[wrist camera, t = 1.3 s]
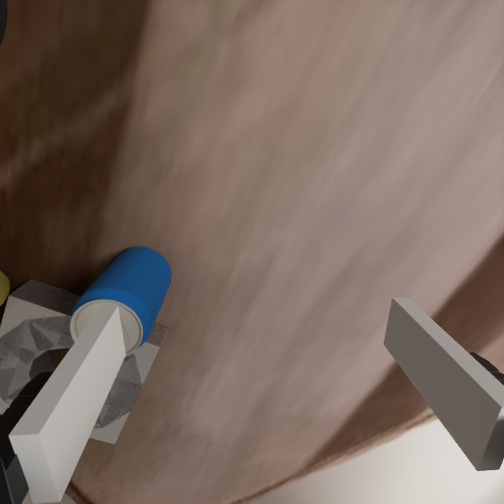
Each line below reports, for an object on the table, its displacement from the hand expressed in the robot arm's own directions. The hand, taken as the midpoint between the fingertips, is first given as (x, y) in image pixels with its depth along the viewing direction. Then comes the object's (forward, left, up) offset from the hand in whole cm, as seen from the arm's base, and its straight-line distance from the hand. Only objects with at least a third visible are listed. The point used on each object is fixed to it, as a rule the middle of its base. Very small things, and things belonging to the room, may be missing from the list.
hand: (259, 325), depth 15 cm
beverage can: (-8, -10, -21) cm, 25 cm away
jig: (-11, -24, -21) cm, 34 cm away
